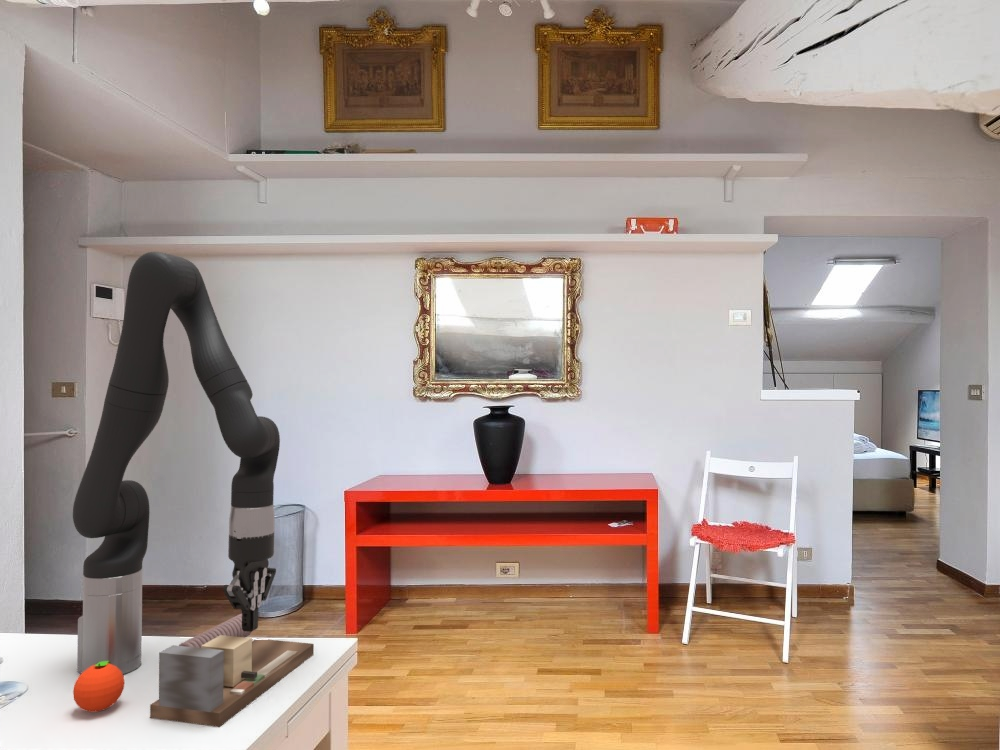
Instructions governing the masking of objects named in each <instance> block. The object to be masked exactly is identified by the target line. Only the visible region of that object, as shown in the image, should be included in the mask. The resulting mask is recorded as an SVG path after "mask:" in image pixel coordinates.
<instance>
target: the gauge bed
mask: <svg viewBox="0 0 1000 750" xmlns="http://www.w3.org/2000/svg"><path fill="white" fill-rule="evenodd" d="M256 639H259V638H256ZM314 644H315V643H309V642H299V641H288V640H279V639H268V640H255V639H253V640H252V672H257V678H255V679H248V678H245V679H244V680H243V681H241V682H240V683H238V684H237V685H235V686H234V687H229V686H223V675H224V650H216V649H206V648H196V647H186V646H179V645H175V644H173V645H171V646H169V647H167V648H165V649H164V650H161V651H159V653H158V664H159V665H158V699H157V700H155V701H154V702H152V703H151V704H149V705H150V706H149V707H150V708H149V718H150V719H154V720H162V721H163V720H164V721H170V722H178V723H184V724H185V723H187V724H192V725H193V724H194V725H203V726H208V727H209V726H210V727H217V728H220V727H221V726H223V725H224V724H225V723H227V722H228V721H230V719H232V718H233V717H235V715H237V714H238V713H239V712H241V711H242V710H243V709H245V708H246V707H247V706H248V705H250V704H251V703H252V702H254V701H255V700H257V698H260V696H261V695H263V694H264V693H266V692H267V691H268V690H270V689H271V688H272V687H273V686H274V685H276V684H277V683H278V682H280V681H281V680H282V679H284V678H285V677H286V676H287V675H289V674H290V673H292V671H294V670H296V669H297V668H298V667H299V666H300V665H302V664H303V663H304V662H306V661H307V660H308V659H310V658H311V657H312V656H313V655H314V653H315V652H314V651H315V649H314Z"/></svg>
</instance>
